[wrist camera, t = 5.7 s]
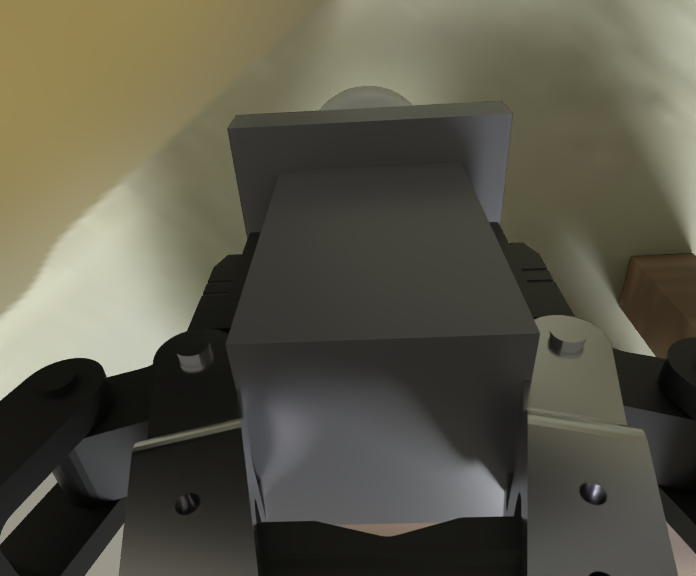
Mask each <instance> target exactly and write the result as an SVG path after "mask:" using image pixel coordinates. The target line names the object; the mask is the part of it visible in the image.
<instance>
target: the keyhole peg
mask: <svg viewBox="0 0 696 576" xmlns="http://www.w3.org/2000/svg"><path fill="white" fill-rule="evenodd" d="M512 116H513V113H512V112H511V111H510V110H509V109H508V107H507V106H506V105H505V104H504V103H503V102H502V101H490V102H471V103H453V104H434V105H416V106H413V105H412V104H411V103H410V102H409V101H408V100H407V99H406V98H404V97H403V96H401V95H400V94H398V93H396V92H394V91H392V90H390V89H386V88H383V87H377V86H360V87H354V88H351V89H347V90H345V91H343V92H340V93H339V94H337V95H335V96H334V97H332V98H331V99H330V100H329V101H327V102H326V103H325V104H324V105H323V106H322V107H321V109H320V110H319V111H304V112H286V113H267V114H248V115H236V116H235V118H234V119H233V121H232V122H231V124H230V125H229V127H228V128H227V129H228V135H229V140H230V146H231V151H232V157H233V162H234V168H235V173H236V179H237V184H238V190H239V195H240V201H241V206H242V212H243V218H244V223H245V229H246V234H247V240H248V237H249V234H250V233H251V232H261V233H260V236H259V240H258V243H257V246H256V249H255V252H254V256H253V259H252V262H251V265H250V268H249V271H248V275H247V278H246V281H245V284H244V287H243V291H242V294H241V297H240V300H239V303H238V306H237V310H236V313H235V316H234V319H233V322H232V326H231V329H230V332H229V335H228V338H227V341H226V349H227V354H228V358H229V362H230V366H231V370H232V375H233V379H234V383H235V387H236V389H240V391H241V395H242V399H243V404H244V408H245V413H246V421H247V428H248V436H249V444H250V450H251V455H252V459H253V463H254V468H255V472H256V476H257V479H261V482H262V486H263V491H264V495H265V501H266V508H267V515H268V521H269V522H285V521H318V522H322V523H327V524H331V525H357V524H401V523H442V522H446V521H450V520H453V519H457V518H460V517H503V508H504V490H505V484H506V478H507V473H514V470H515V464H516V457H517V448H518V432H519V401H520V396H521V390H522V384H523V380H532V376H533V371H534V365H535V360H536V354H537V349H538V343H539V338H540V332H539V329H538V327H537V325H536V323H535V321H534V319H533V316H532V314H531V312H530V310H529V308H528V306H527V303H526V301H525V299H524V297H523V295H522V293H521V290H520V288H519V286H518V284H517V282H516V280H515V277H514V275H513V273H512V271H511V269H510V267H509V264H508V262H507V260H506V258H505V256H504V253H503V251H502V249H501V247H500V245H499V243H498V240H497V238H496V236H495V234H494V232H493V230H492V227H491V225H490V223H489V222H498V223H499V225H500V222H501V213H502V204H503V196H504V187H505V178H506V169H507V160H508V151H509V143H510V134H511V125H512Z"/></svg>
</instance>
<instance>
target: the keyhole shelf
mask: <svg viewBox="0 0 696 576" xmlns="http://www.w3.org/2000/svg"><path fill="white" fill-rule="evenodd" d="M619 307H620V308H621V309H622V311H623V312H624V314H625V315H626V316H627V318H628V319H629V320H630V322H631V323H632V324H633V326H634V327H635V329H636V330H637V331H638V333H639V334H640V335H641V337H642V338H643V339H644V341H645V342H646V344H647V345H648V346H649V348H650V349H651V350H652V352H653V353H654V355H655V356H656V357H657V358H663V359H665V358H666V355H667V352H668V349H669V347H670V346H671V345H672V344H673V343H675V342H676V341H679V340H681V339H685V338H693V337H696V256H695V255H694V254H693V253H687V254H669V255H650V256H631V260H630V264H629V267H628V271H627V275H626V279H625V283H624V287H623V291H622V295H621V299H620V303H619ZM435 524H439V523H401V524H357V525H335V526H340V527H344V528H349V529H353V530H357V531H362V532H366V533H371V534H375V535H379V536H395V535H399V534H403V533H406V532H410V531H414V530H417V529H421V528H424V527H428V526H432V525H435ZM666 524H667V528H668V533H669V537H670V542H671V546H672V550H673V555H674V559H675V564H676V568H677V572H678V576H696V554H695V553H694V552H693V550H692V549H691V548H690V547H689V546H688V545H687V544H686V543H685V542H684V541H683V540H682V538H681V537H680V536H679V535H678V534H677V533H676V532H675V531H674V530H673V529H672V528H671V526H670V525H669V524H668V523H667V522H666Z"/></svg>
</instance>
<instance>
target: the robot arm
mask: <svg viewBox="0 0 696 576" xmlns="http://www.w3.org/2000/svg"><path fill="white" fill-rule="evenodd" d="M489 223H490V225H491V227H492V230H493V232H494V234H495V236H496V238H497V240H498V243H499V245H500V247H501V249H502V251H503V253H504V256H505V258H506V260H507V262H508V264H509V267H510V269H511V271H512V273H513V275H514V277H515V280H516V282H517V284H518V286H519V288H520V290H521V293H522V295H523V297H524V299H525V301H526V303H527V306H528V308H529V310H530V312H531V314H532V316H533V319H534V321H535V323H536V325H537V327H538V329H539V332H540V338H539V343H538V349H537V354H536V360H535V365H534V371H533V376H532V380H523V384H522V390H521V396H520V401H519V432H518V448H517V457H516V464H515V470H514V473H507V478H506V484H505V490H504V508H503V517H460V518H457V519H453V520H450V521H446V522H442V523H439V524H435V525H432V526H428V527H424V528H421V529H417V530H414V531H410V532H406V533H403V534H399V535H395V536H379V535H375V534H371V533H366V532H362V531H357V530H353V529H349V528H344V527H340V526H335V525H331V524H327V523H322V522H318V521H285V522H269V521H268V515H267V508H266V501H265V495H264V491H263V486H262V482H261V479H257V476H256V472H255V468H254V463H253V459H252V455H251V450H250V444H249V436H248V428H247V421H246V413H245V408H244V404H243V399H242V395H241V391H240V389H236V387H235V383H234V379H233V375H232V370H231V366H230V362H229V358H228V354H227V349H226V341H227V338H228V335H229V332H230V329H231V326H232V322H233V319H234V316H235V313H236V310H237V306H238V303H239V300H240V297H241V294H242V291H243V287H244V284H245V281H246V278H247V275H248V271H249V268H250V265H251V262H252V259H253V256H254V252H255V249H256V246H257V243H258V240H259V236H260V233H261V232H251V233H250V234H249V237H248V240H247V242H246V245H245V248H244V251H243V254H238V255H227V256H226V257H225V258H224V259H223V260H222V261H221V262H220V263H218V264H217V265H216V266H215V267H214V268H213V271H212V273H211V275H210V278H209V280H208V284H207V285H206V287H205V290H204V292H203V296H202V297H201V299H200V302H199V304H198V306H197V309H196V311H195V313H194V316H193V318H192V321H191V323H190V325H189V328H188V330H187V331H186V332H183V333H181V334H178V335H176V336H174V337H172V338H171V339H169V340H168V341H166V342H165V343H164V344H163V345H162V346H161V347H160V348H159V349H158V351H157V352H156V354H155V356H154V360H153V365H151V366H148V367H145V368H142V369H138V370H135V371H131V372H127V373H123V374H119V375H115V376H111V377H106V374H105V372H104V369H103V367H102V366H101V365H100V364H99V363H98V362H96V361H94V360H91V359H86V358H73V359H67V360H62V361H59V362H56V363H53V364H50V365H48V366H46V367H44V368H42V369H40V370H38V371H37V372H35V373H34V374H32V375H31V376H30V377H28V378H27V379H26V380H25V381H23V382H22V383H21V384H20V385H19V386H17V387H16V388H15V389H14V390H13V391H12V392H10V393H9V394H8V395H7V396H6V397H4V398H3V399H2V400H1V401H0V534H1V531H2V529H3V526H4V525H5V523H6V521H7V520H8V518H9V517H10V516H11V515H12V514H13V512H14V511H15V510H16V509H17V508H18V507H19V506H20V505H21V504H22V503H23V502H24V501H25V500H26V499H27V498H28V496H30V495H31V493H32V492H33V491H34V490H35V489H36V488H37V487H38V486H39V485H40V484H41V483H42V482H43V481H44V480H45V479H46V478H47V477H48V476H49V474H50V473H51V472H52V473H53V474H54V476H55V478H56V480H57V484H56V485H55V486H54V487H53V488H52V489H51V490H50V491H49V492H48V493H47V494H46V495H45V497H44V498H43V499H42V500H41V501H40V502H39V503H38V504H37V505H36V506H35V507H34V509H33V510H32V511H31V512H30V513H29V514H28V515H27V516H26V517H25V518H24V519H23V520H22V522H21V523H20V524H19V525H18V526H17V527H16V528H15V529H14V530H13V531H12V533H11V534H10V535H9V536H8V537H7V538H6V539H5V540H4V541H3V542H2V543H1V544H0V576H85V574H86V573H87V572H88V570H89V569H90V568H91V566H92V565H93V564H94V562H95V561H96V560H97V558H98V557H99V556H100V554H101V553H102V552H103V550H104V549H105V548H106V546H107V545H108V544H109V542H110V541H111V540H112V538H113V537H114V536H115V534H116V533H117V532H118V530H119V529H120V527H121V526H122V525H123V524H124V530H123V540H122V549H121V559H120V568H119V576H678V572H677V568H676V564H675V559H674V555H673V550H672V546H671V542H670V537H669V533H668V528H667V524H666V522H667V523H668V524H669V525H670V526H671V528H672V529H673V530H674V531H675V532H676V533H677V534H678V535H679V536H680V537H681V538H682V540H683V541H684V542H685V543H686V544H687V545H688V546H689V547H690V548H691V549H692V550H693V552H694V553H695V554H696V337H693V338H685V339H681V340H679V341H676V342H675V343H673V344H672V345H671V346H670V347H669V349H668V352H667V355H666V358H665V359H663V358H657V357H652V356H646V355H640V354H634V353H629V352H624V351H620V350H617V349H614V348H612V345H611V342H610V340H609V338H608V336H607V335H606V334H605V333H604V332H603V331H602V330H601V329H599V328H598V327H597V326H595V325H593V324H591V323H589V322H587V321H585V320H582V319H579V318H575V316H574V315H573V313H572V311H571V309H570V308H569V306H568V304H567V302H566V301H565V299H564V297H563V295H562V294H561V292H560V290H559V288H558V287H557V285H556V283H555V282H553V278H552V276H551V274H550V273H549V271H547V267H546V266H545V264H544V262H543V260H542V259H541V257H540V255H539V254H538V253H537V252H535V251H534V250H532V249H531V248H530V247H528V246H527V245H525V244H524V243H508V241H507V239H506V237H505V235H504V233H503V231H502V229H501V227H500V225H499V223H498V222H489Z"/></svg>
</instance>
